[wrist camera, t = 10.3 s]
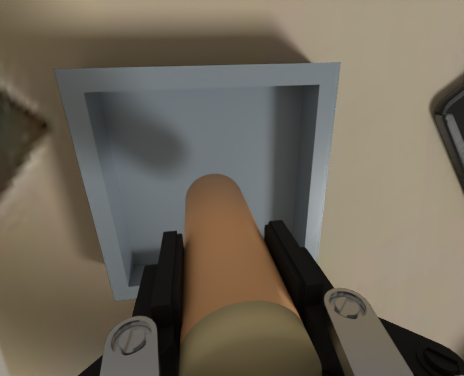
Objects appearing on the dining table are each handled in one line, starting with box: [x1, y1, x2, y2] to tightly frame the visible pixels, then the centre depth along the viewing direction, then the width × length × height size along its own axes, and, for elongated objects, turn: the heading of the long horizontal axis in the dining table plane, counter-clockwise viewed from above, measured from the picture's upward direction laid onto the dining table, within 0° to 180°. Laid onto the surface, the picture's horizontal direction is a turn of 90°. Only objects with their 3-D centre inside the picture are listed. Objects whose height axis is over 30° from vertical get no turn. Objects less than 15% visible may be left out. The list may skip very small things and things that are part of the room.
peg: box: [179, 174, 322, 376], centre depth 11 cm, size 4×4×11 cm
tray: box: [54, 62, 341, 301], centre depth 19 cm, size 16×16×4 cm
